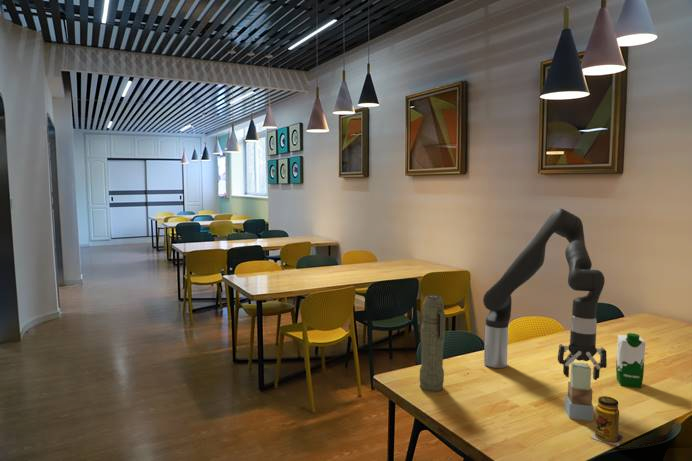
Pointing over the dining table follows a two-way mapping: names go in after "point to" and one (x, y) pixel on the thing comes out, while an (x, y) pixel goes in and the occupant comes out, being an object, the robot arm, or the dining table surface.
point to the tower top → (579, 395)
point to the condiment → (607, 421)
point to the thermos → (432, 344)
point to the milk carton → (630, 360)
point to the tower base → (578, 410)
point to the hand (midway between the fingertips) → (580, 377)
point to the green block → (580, 376)
